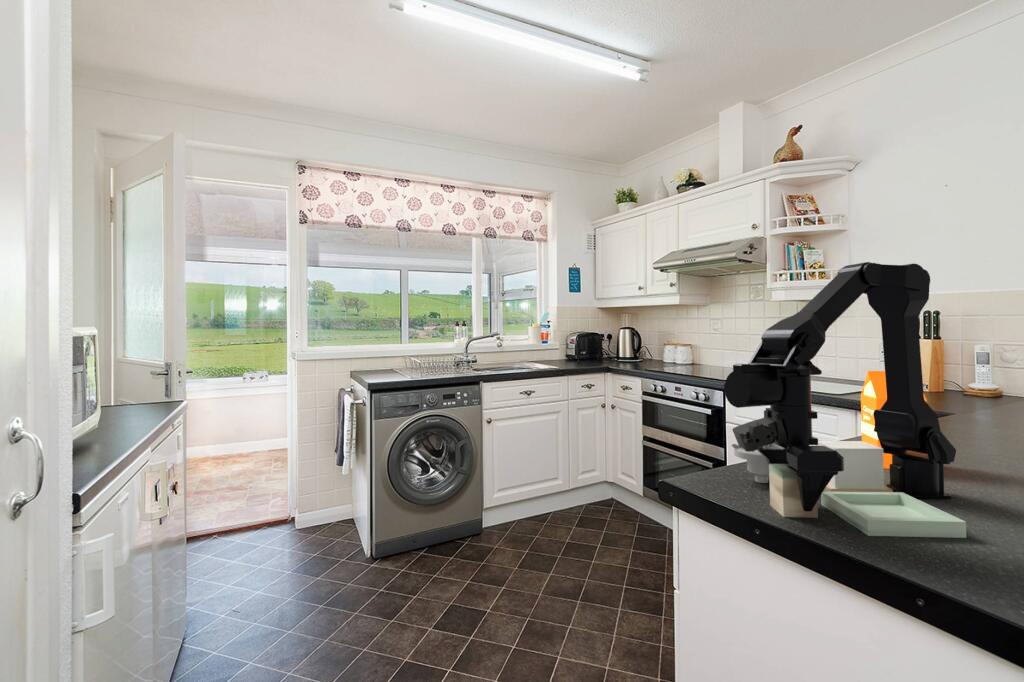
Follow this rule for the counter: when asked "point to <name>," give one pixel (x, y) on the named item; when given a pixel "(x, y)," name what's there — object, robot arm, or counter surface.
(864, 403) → the orange juice
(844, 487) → the butter dish
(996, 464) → the counter surface
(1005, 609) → the counter surface
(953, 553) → the counter surface
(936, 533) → the parts tray
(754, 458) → the showerhead
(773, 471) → the block
